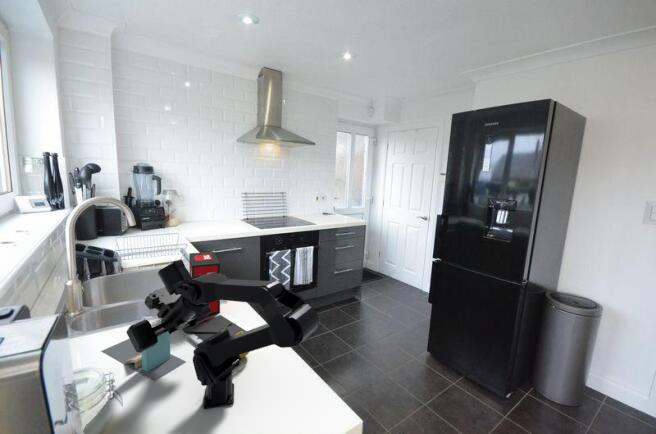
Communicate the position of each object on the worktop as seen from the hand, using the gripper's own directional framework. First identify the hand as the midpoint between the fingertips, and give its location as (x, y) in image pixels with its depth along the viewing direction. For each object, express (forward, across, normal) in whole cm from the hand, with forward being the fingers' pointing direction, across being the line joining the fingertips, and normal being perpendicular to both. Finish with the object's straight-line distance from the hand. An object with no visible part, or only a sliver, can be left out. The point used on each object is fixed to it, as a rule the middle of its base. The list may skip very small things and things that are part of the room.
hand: (157, 337), depth 78 cm
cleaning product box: (+18, -29, -6) cm, 35 cm away
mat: (+10, 0, +1) cm, 10 cm away
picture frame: (+5, -19, +8) cm, 21 cm away
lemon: (-6, -14, +17) cm, 23 cm away
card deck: (+6, 0, +5) cm, 8 cm away
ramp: (+9, 0, +2) cm, 9 cm away
